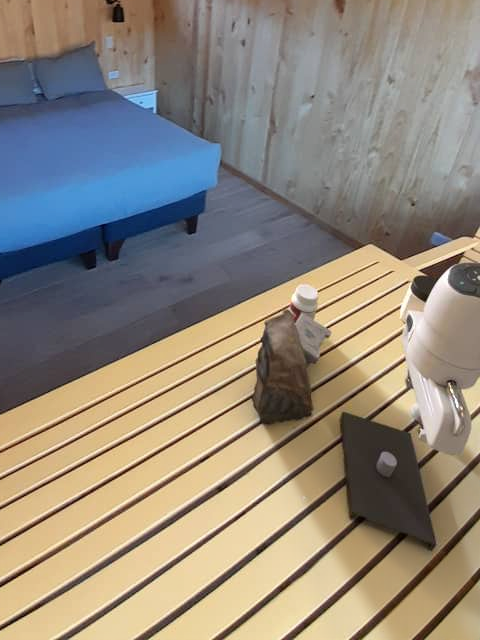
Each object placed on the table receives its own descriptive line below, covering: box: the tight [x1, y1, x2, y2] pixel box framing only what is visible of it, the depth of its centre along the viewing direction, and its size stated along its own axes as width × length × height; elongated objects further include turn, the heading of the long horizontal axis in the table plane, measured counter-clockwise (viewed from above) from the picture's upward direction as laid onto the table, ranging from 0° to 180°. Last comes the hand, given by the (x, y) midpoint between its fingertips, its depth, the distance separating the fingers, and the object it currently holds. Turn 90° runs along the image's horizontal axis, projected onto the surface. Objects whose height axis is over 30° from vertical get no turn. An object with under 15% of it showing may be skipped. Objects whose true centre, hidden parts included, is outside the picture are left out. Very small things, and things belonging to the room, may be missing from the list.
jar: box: [399, 274, 440, 324], centre depth 103 cm, size 9×8×12 cm
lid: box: [339, 411, 438, 552], centre depth 73 cm, size 12×18×6 cm, turn 158°
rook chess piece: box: [410, 402, 423, 426], centre depth 82 cm, size 4×4×8 cm
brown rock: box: [251, 308, 315, 426], centre depth 84 cm, size 13×13×20 cm
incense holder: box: [295, 314, 332, 370], centre depth 93 cm, size 10×8×10 cm
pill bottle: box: [288, 284, 319, 323], centre depth 103 cm, size 6×6×11 cm
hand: (416, 410), depth 68 cm, fingers open, 8 cm apart
